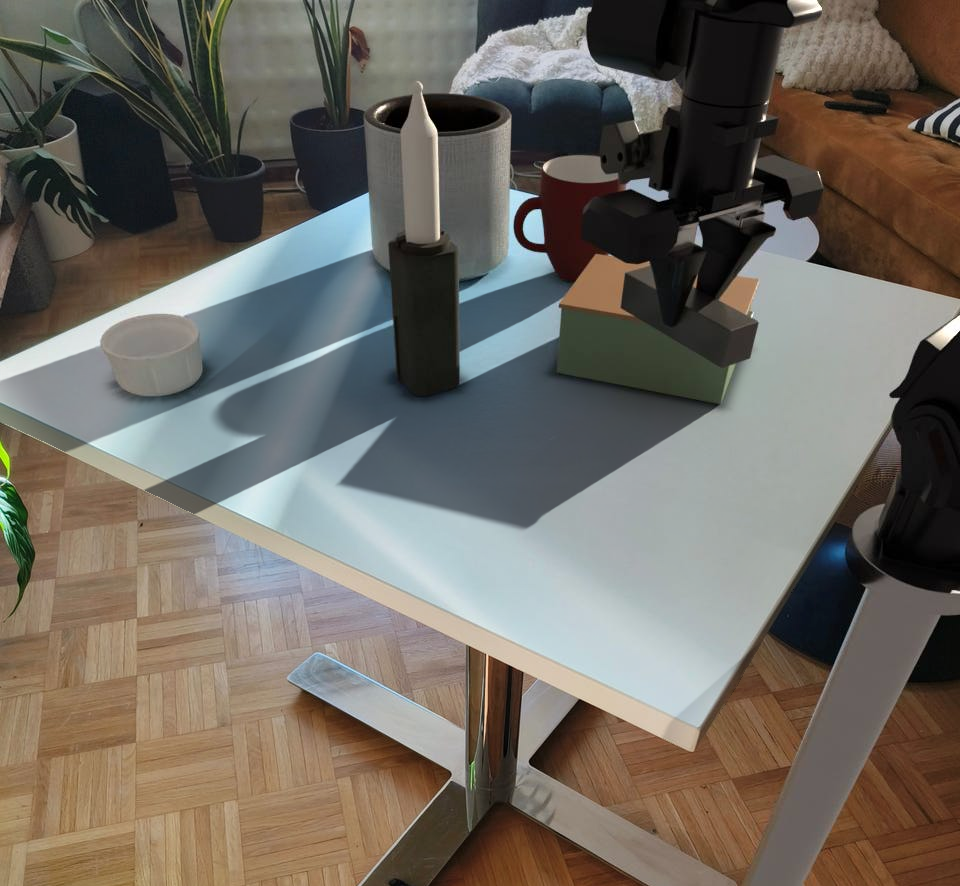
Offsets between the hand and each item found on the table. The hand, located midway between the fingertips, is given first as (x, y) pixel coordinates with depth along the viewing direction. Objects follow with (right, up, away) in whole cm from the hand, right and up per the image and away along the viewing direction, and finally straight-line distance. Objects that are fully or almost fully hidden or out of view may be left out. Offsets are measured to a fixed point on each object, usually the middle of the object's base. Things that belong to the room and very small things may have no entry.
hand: (684, 320), depth 71 cm
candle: (-21, 0, +15) cm, 26 cm away
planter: (-21, +20, +36) cm, 46 cm away
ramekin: (-47, 0, +15) cm, 49 cm away
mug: (-6, +17, +33) cm, 37 cm away
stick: (0, -1, +1) cm, 1 cm away
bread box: (+1, +3, +18) cm, 19 cm away
